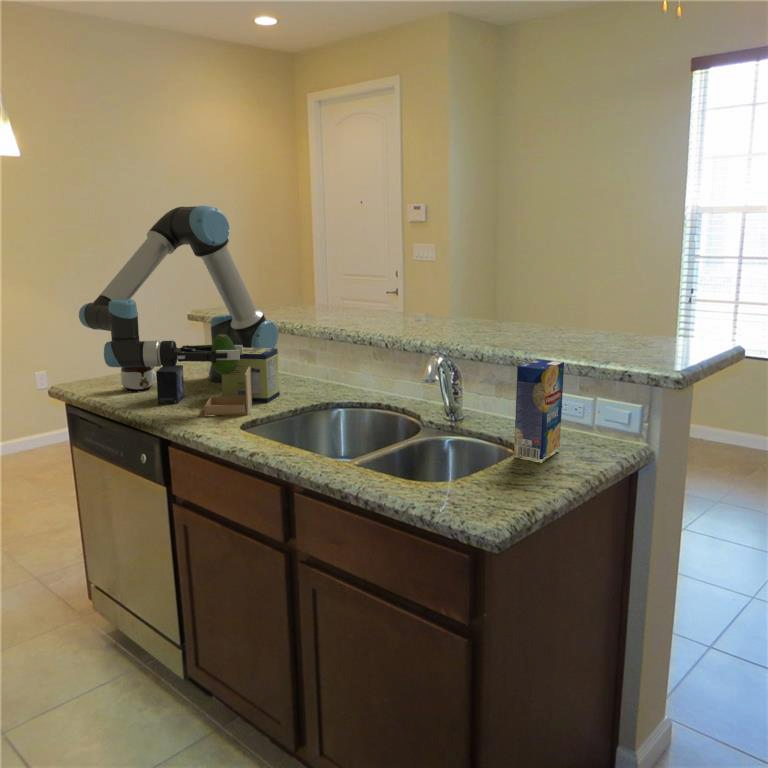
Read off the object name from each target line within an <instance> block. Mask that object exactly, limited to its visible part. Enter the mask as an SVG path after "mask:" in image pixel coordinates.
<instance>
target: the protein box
mask: <svg viewBox="0 0 768 768" xmlns="http://www.w3.org/2000/svg"><path fill="white" fill-rule="evenodd" d="M278 357H279V356H278V348H275V347H274V348H243V354H240V360H238V363H237V366H236V368H235V369H234V371H232V372H231V373H229V374H225V375H222V374H221V375H222V382H221V387H222V388H221V389H222V396H246V388H245V373H246V371H247V369H248V367H250V371H251V392H252V403H260V404H263V403H265V404H268V403H270V402H271V401H273V400H274V399H276V398H278V397H279V396H280V395H281V394H280V380H279V379H280V378H279V375H280V374H279V358H278Z"/></svg>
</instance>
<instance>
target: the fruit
mask: <svg viewBox="0 0 768 768" xmlns="http://www.w3.org/2000/svg"><path fill="white" fill-rule="evenodd" d="M211 345H212V344H211ZM216 350H236V348H235V346H234V344H233V342H232V341H231V339H230V338H229V336H227V335H226V334H219V335H217V336H216V337H215V339H214V341H213V345H212V350H211V351H215V353H216ZM210 363H211V364H212V366H213V368H214V370H215V371H216V372H217V373H219V374H222V375H225V374H229V373H231V372H232V371H234V369H235V368H236V366H237V363H238V360H216V363H213V361H212V362H210Z"/></svg>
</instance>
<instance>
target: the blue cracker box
mask: <svg viewBox="0 0 768 768" xmlns="http://www.w3.org/2000/svg"><path fill="white" fill-rule="evenodd" d="M564 370H565V361H558V360H549V359H548V360H547V359H541V358H540V359H539V358H536V359H533V360H530V361H526V362H524V363H522V364H519V365H518V366H517V368H516V371H517V372H516V392H515V393H516V395H515V396H516V399H515V420H514V421H515V424H514V426H515V427H514V449H513V450H514V452H513V454H514V455H513V457H514V456H515V455H518V456H525V457H531V458H537V459H543V458H544V457H546V456H547V455H549V454H550V453H552V452H553V451H554V450H556V449H557V448H558V447H560V448H561V430H562V428H561V427H562V410H563V392H564V374H565V372H564Z"/></svg>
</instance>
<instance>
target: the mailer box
mask: <svg viewBox="0 0 768 768" xmlns="http://www.w3.org/2000/svg"><path fill="white" fill-rule="evenodd" d="M245 388H246V396H223V395H222V396H219V395H218V396H210V397H209V399H208V400H207V402H206V403H205V404H204V406H203V407H204V416H205V415H232V416H249V414H250V412H251V409H252V407H253V402H252V392H251V371H250V367H248V369H247V371H246V373H245Z"/></svg>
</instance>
